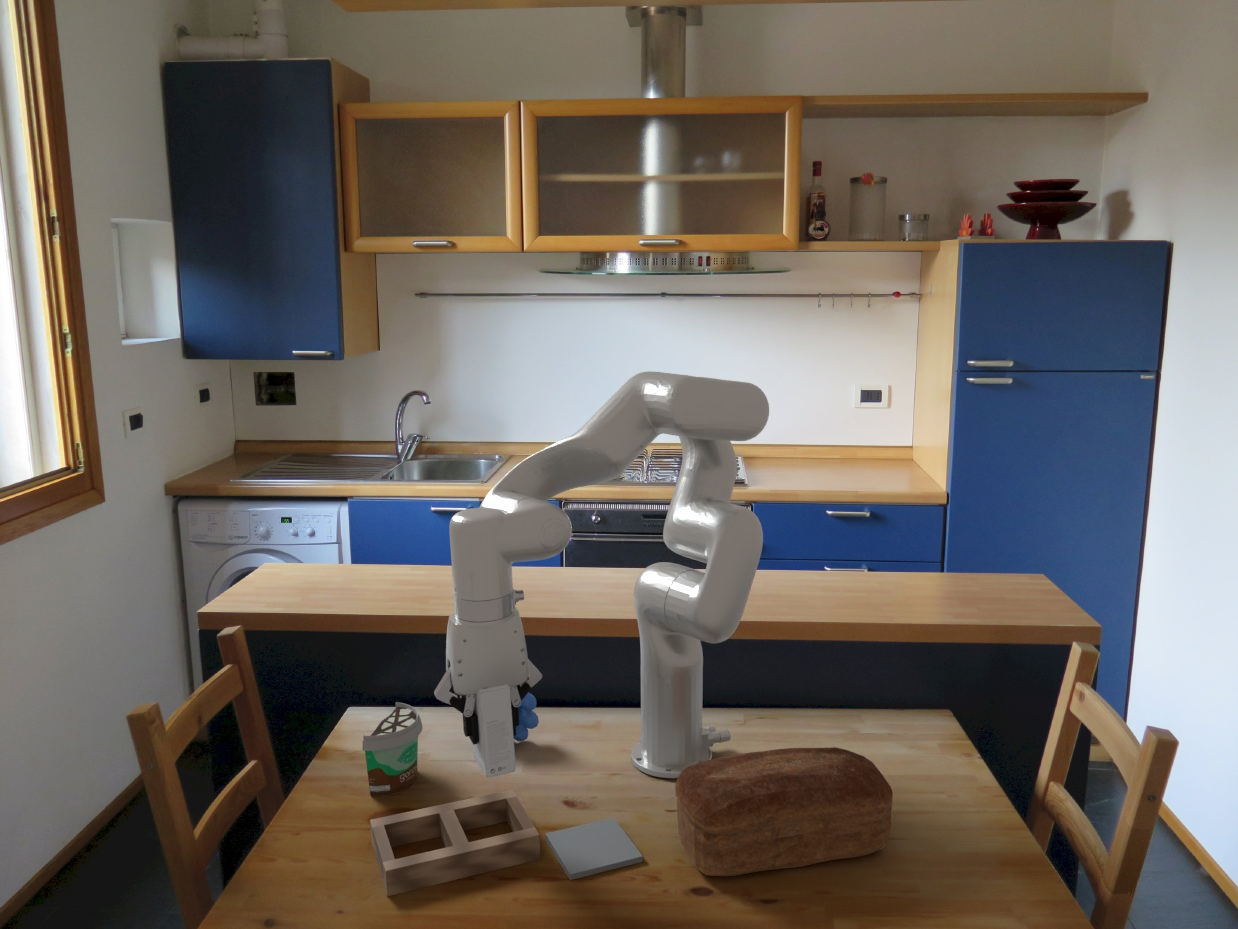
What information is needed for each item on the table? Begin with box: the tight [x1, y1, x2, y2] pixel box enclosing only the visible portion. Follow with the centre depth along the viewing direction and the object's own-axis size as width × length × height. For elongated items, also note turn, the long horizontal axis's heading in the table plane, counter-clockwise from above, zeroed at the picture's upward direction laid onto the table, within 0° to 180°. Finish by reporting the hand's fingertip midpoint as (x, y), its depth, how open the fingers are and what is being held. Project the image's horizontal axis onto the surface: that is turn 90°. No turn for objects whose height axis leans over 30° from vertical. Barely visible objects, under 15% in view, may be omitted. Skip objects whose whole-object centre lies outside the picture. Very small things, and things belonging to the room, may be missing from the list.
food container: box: [362, 701, 423, 797], centre depth 150 cm, size 12×6×10 cm, turn 168°
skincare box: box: [472, 685, 517, 778], centre depth 131 cm, size 6×4×12 cm
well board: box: [369, 789, 541, 897], centre depth 132 cm, size 20×12×4 cm, turn 112°
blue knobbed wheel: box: [513, 692, 540, 742], centre depth 160 cm, size 12×7×12 cm, turn 90°
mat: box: [544, 817, 644, 881], centre depth 133 cm, size 10×10×1 cm
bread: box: [674, 746, 894, 877], centre depth 132 cm, size 14×28×12 cm, turn 103°
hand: (492, 734), depth 132 cm, fingers closed on skincare box, 4 cm apart
